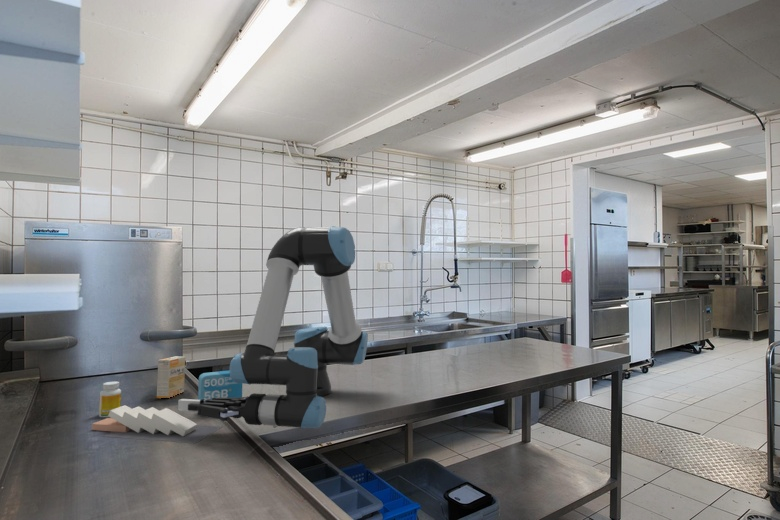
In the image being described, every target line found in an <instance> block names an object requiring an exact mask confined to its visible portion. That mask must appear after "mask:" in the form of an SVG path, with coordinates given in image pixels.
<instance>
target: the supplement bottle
mask: <svg viewBox="0 0 780 520" xmlns="http://www.w3.org/2000/svg"><path fill="white" fill-rule="evenodd" d="M119 387H120V382H119V381H107V382H103V383H102V389H103V390H101V391H100V393H99V402H98V403H99V404H98V405H99V406H98V417H99V418H110V417H109V416H108V415H109V412H110V410H113V409H116V408H118V407H121V405H122V389H120V388H119Z"/></svg>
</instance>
